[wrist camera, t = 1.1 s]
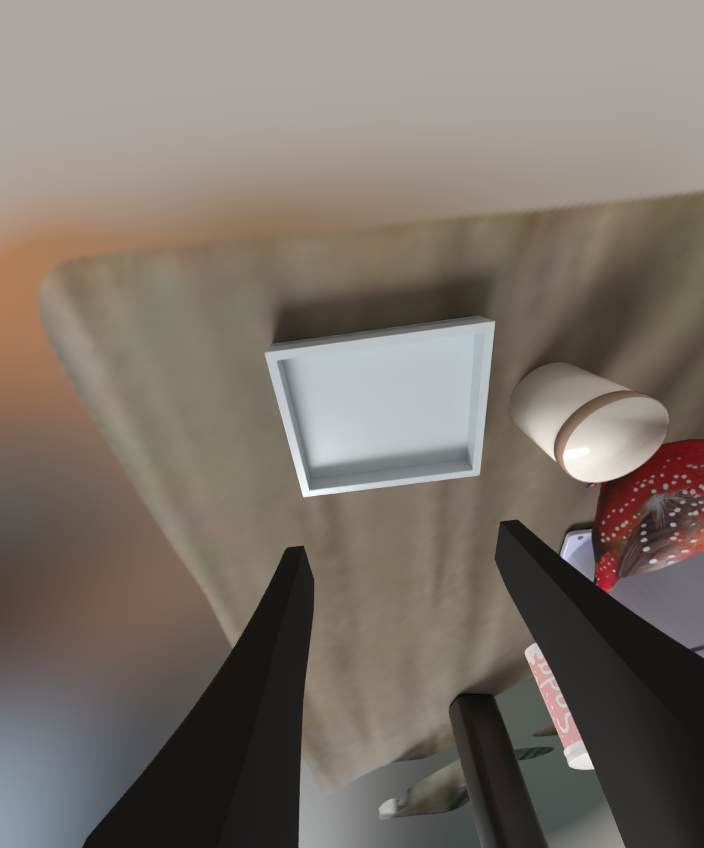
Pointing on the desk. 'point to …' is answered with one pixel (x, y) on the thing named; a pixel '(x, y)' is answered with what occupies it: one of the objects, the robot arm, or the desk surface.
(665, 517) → the decorative bird figurine
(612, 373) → the desk surface
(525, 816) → the wine bottle
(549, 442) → the espresso cup
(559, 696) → the beverage cup
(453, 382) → the tray
